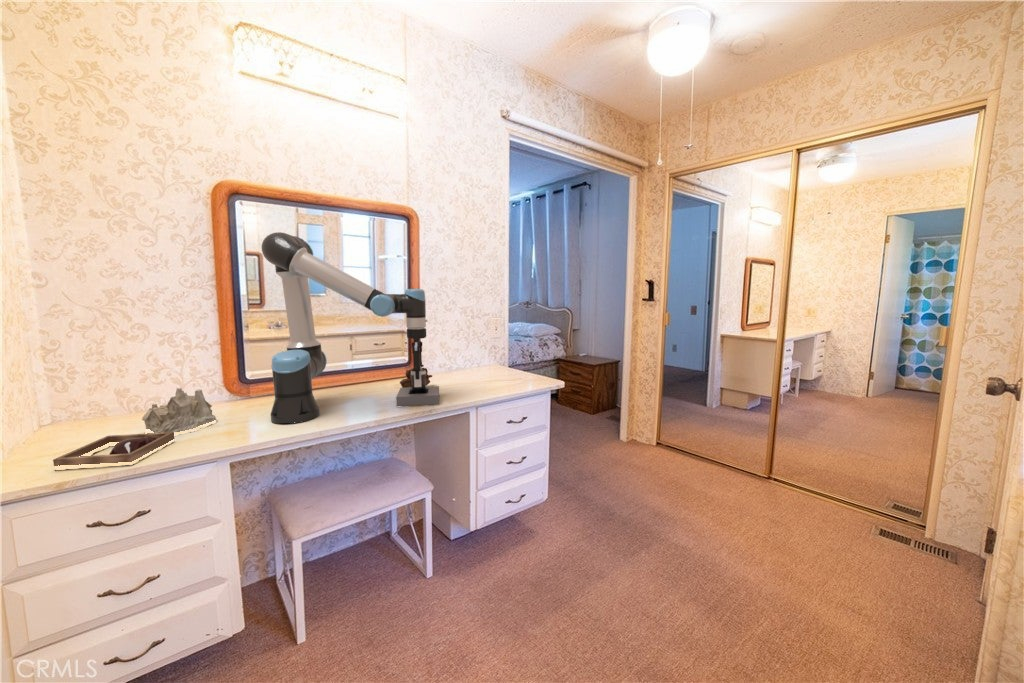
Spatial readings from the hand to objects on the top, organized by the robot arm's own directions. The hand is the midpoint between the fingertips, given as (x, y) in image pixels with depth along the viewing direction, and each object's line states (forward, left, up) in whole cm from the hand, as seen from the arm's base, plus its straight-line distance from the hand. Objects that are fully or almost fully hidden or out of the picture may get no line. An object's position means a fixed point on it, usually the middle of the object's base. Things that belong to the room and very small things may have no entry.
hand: (418, 384), depth 156 cm
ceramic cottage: (-75, -18, -7) cm, 77 cm away
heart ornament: (-74, -38, -7) cm, 83 cm away
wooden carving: (-2, +19, -7) cm, 20 cm away
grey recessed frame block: (0, 0, -7) cm, 7 cm away
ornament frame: (-78, -38, -7) cm, 87 cm away
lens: (0, 0, -4) cm, 4 cm away
